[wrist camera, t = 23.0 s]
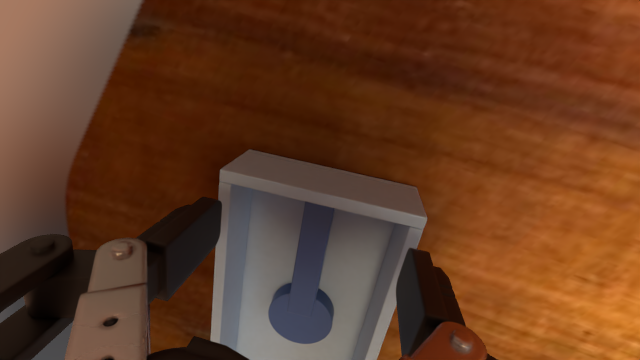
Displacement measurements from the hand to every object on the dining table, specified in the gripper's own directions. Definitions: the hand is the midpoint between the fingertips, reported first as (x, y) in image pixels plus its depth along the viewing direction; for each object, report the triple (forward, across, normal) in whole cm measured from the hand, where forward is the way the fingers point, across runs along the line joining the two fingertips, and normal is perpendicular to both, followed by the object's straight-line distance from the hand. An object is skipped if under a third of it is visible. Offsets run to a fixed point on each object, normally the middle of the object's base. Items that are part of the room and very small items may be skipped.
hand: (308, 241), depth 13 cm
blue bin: (+5, 0, +11) cm, 12 cm away
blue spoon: (+4, 0, +4) cm, 6 cm away
